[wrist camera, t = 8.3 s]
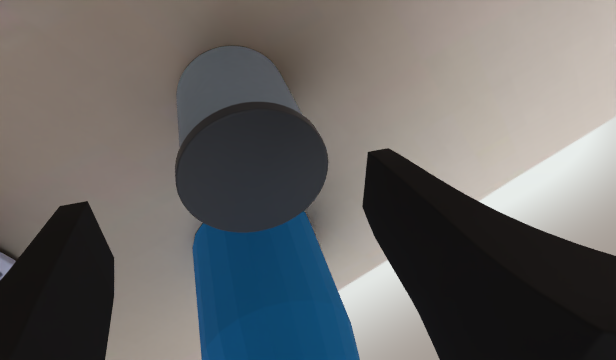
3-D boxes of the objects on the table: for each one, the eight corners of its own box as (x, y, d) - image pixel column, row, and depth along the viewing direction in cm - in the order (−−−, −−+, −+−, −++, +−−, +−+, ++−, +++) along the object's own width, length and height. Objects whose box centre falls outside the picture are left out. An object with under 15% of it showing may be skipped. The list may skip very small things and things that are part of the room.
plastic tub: (215, 164, 21) (230, 253, 16) (145, 81, 17) (139, 165, 13) (306, 112, 21) (349, 188, 16) (253, 16, 17) (288, 78, 12)
